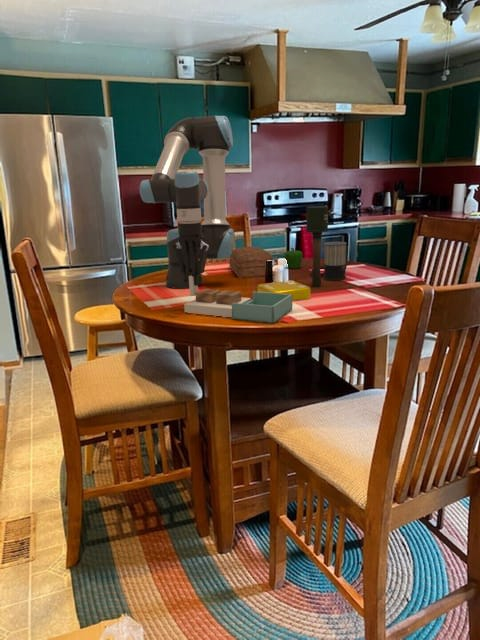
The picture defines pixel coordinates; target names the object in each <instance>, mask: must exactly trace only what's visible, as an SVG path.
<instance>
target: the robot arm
mask: <svg viewBox="0 0 480 640" xmlns="http://www.w3.org/2000/svg"><path fill="white" fill-rule="evenodd" d="M163 145H164V146H163V149H162V152H161V154H160V156H159V158H158V161H157V164H156V167H155V168H154V170H153V173H152V176H151V178H150V179H143V180H142V181H140V184H139V195H140V198H141V200H142V202H143V203H147V204H160V203H161V204H162V203H164V204H165V203H175V204H176V205H175V206H176V216H177V217H176V220H177V222H178V223H177V228H173V229H169V230H168V231H167V232H166V245H167V246H166V248H167V260H168V269H167V273H166V277H165V286H166V287H167V286H168V288H170V287H174V288H173V289H189V296H190V297H192V296H193V297H196V292H199V285H200V286H202V285H204V281H203V280H204V279H203V276H202V274H204V273H205V270H206V263H207V260H222V259H223V260H224V259H225V260H226V259H230V256H231V254H232V251H233V250H234V246H235V245H234V244H235V230H234V229H233V228H231V224H230V223H229V222H228V221H227V214H226V213H227V210H226V209H227V208H226V205H227V204H226V203H227V202H226V197H227V196H226V193H227V192H226V157H227V156H228V155H229V154H230V149H232V148H233V147H234V138H233V131H232V125H231V123H230V120H229V118H228V117H227V116H226V115H208V116H195V117H193V116H191V117H190V116H189V117H186V118H184V119H181V120H180V121H178V122H177V123H175V124H174V125H173V126H172V127H171V128H170V129H169V130H168V131H167V133H166V135H165V137H164V140H163ZM191 150H198V154H199V155H200V157H202V172H203V173H202V175H203V176H202V178H201V177H200V174H199V172H198V171H195V170H192V171H191V170H189V171H188V170H185V171H179V168H180V166H181V163H182V160H183V157H184V155H186V154H187V153H188V151H191ZM201 201H203V221H202V210H201V208H202V207H201ZM201 221H202V222H201Z"/></svg>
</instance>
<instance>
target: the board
mask: <svg viewBox="0 0 480 640" xmlns="http://www.w3.org/2000/svg"><path fill="white" fill-rule="evenodd" d="M241 299H242V301H240V302H238V303H242V304H246V303H247V302H249V301H251V300H252V298H250V297H242V296H241ZM183 306H184V313H185V312H188V313H198V314H206V315H214V316H213V317H216V316H222V317H221V318H226V317H232V305H226V304H216V302H214V303H204V302H196V298H195V299H193V300H191V301H189V302H186V303H184V305H183ZM206 315H205V316H206Z"/></svg>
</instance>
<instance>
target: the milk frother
mask: <svg viewBox="0 0 480 640" xmlns="http://www.w3.org/2000/svg"><path fill="white" fill-rule="evenodd" d="M323 244H324V263H323V264H324V265H320V270H323V271H324V272H322V273H321V272H320V273H321V277H322V276H323V279H324V280H326V281H335V282H336V281H337V282H338V281H343V280H346V279H347V275H346V271H347V270H346V269H347V268H348V266H347V265H348V264H347V263H348V252H349V251H348V246H347V242H345V241H328V242H324V243H323ZM309 274H310V275H311V276H312V275H313V268H312V269H311V270H310V273H309Z"/></svg>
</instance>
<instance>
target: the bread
mask: <svg viewBox="0 0 480 640" xmlns="http://www.w3.org/2000/svg"><path fill="white" fill-rule="evenodd" d="M228 259H229V260H228V261H229V262H228V263H229V268H230V267H231V268H230V270H232V272H233V271H234V272H233V273H234V274H236V276H237V277H238V278H239V277H247V278H260V277H261V278H262V277H266V276H265V264H266V261H267V260H274V257H273V255H272V254H270V253H269V252H268V251H267V250H265V249H263V248H261V247H258V246H244V247H242V246H241V247H237V248H233V250H232V254H231V256H230V257H229V258H228Z"/></svg>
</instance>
